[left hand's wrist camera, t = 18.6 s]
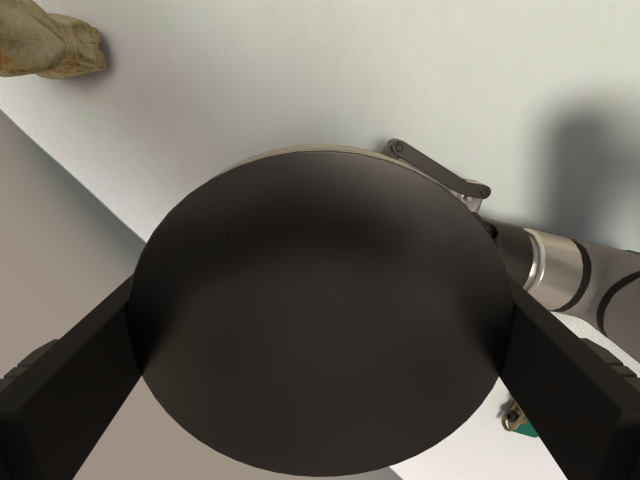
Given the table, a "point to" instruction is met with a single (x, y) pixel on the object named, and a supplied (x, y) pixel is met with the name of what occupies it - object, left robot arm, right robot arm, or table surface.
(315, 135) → the table surface
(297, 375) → the lid
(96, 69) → the sculpture
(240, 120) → the table surface
